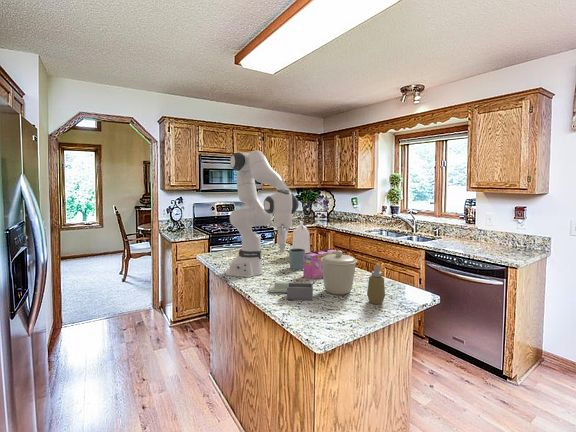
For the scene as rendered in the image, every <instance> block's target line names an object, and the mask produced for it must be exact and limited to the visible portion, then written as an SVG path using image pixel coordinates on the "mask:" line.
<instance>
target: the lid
mask: <svg viewBox="0 0 576 432" xmlns="http://www.w3.org/2000/svg"><path fill="white" fill-rule="evenodd" d="M288 283H292V282H291V281H276V280H274V283H273V284H271V285H270V288H269V290H268V292H269V293H286V294H287V285H288Z"/></svg>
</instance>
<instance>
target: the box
mask: <svg viewBox="0 0 576 432" xmlns="http://www.w3.org/2000/svg"><path fill="white" fill-rule="evenodd" d="M313 294H314V286H313V283H312V282H311V283H309V282H307V283H306V282H291V283H288V285H287V293H286V300H288V301H313V299H314V295H313Z"/></svg>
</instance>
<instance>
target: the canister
mask: <svg viewBox="0 0 576 432" xmlns="http://www.w3.org/2000/svg"><path fill="white" fill-rule="evenodd" d="M321 261H322V269H323V276H322V278H323V285H324V289H325V291H326V292H327V293H329V294H331V295H340V296H341V295H347V294H349V293H351V291H352V289H353V285H354V284H353V283H354V279H355V272H356V271H355V270H356V264H357V263H358V260H357V259H356V258H355V257H353V256H351V255H348V254H343V251H342V250H338V249H337V250H336V252H335V254H331V255H326V256H324V257H322V258H321Z"/></svg>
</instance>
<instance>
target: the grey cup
mask: <svg viewBox="0 0 576 432" xmlns="http://www.w3.org/2000/svg"><path fill="white" fill-rule="evenodd" d="M304 253H305V250H304V249H292V248H289V250H288V255H289V269H290V270H291V271H302V270H303V269H304Z"/></svg>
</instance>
